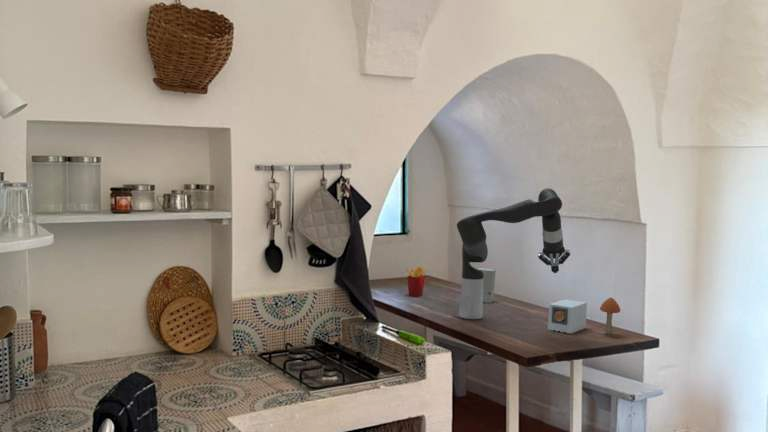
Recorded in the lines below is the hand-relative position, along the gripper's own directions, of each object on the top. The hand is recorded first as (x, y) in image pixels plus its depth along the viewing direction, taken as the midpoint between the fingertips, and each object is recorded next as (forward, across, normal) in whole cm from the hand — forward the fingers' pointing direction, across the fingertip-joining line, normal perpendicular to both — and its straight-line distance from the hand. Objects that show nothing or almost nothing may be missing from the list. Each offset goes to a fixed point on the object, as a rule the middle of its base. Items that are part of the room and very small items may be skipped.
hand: (555, 271), depth 304 cm
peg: (+20, +2, -5) cm, 21 cm away
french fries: (+45, -64, +48) cm, 92 cm away
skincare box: (+46, -31, +40) cm, 68 cm away
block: (+25, +2, -6) cm, 26 cm away
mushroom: (+24, +18, -13) cm, 33 cm away
